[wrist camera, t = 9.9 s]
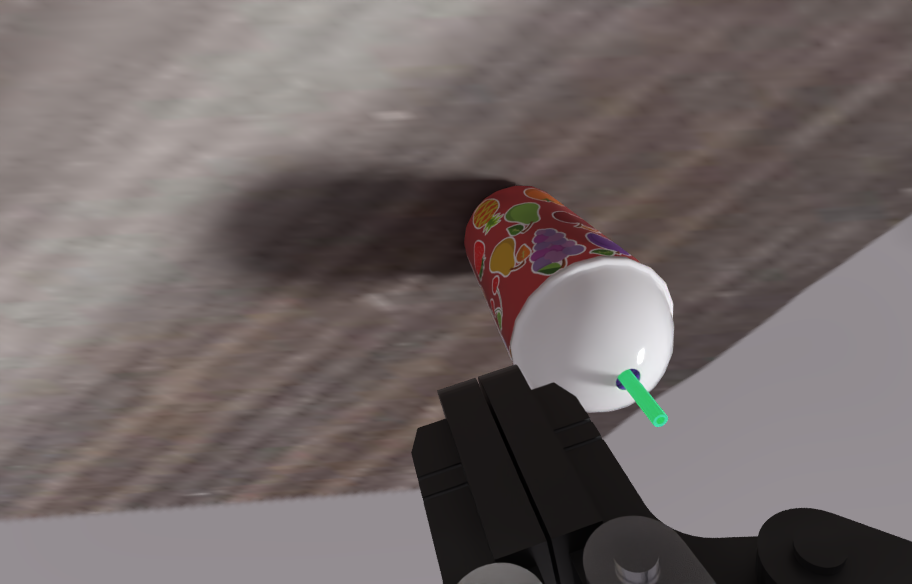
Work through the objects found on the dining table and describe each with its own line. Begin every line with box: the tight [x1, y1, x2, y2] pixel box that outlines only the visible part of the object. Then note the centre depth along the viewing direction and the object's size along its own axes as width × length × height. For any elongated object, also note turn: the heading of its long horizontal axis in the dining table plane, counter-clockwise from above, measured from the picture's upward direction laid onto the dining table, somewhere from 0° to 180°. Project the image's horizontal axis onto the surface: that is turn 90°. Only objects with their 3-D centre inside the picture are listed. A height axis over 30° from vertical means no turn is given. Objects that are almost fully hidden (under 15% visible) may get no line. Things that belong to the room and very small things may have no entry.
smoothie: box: [464, 186, 674, 427], centre depth 34 cm, size 8×8×20 cm
